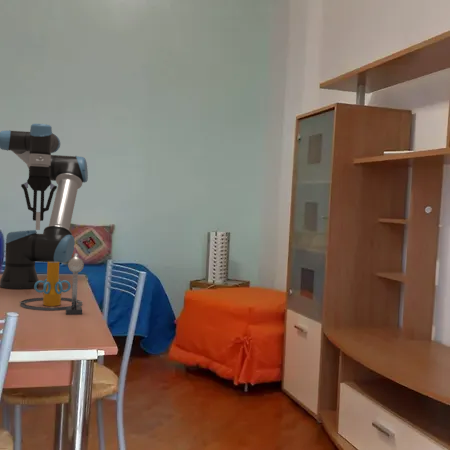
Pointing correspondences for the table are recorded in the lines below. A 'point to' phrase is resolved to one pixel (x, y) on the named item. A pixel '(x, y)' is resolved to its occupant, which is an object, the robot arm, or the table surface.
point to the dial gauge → (75, 283)
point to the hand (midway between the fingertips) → (37, 229)
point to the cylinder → (52, 285)
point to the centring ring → (46, 307)
